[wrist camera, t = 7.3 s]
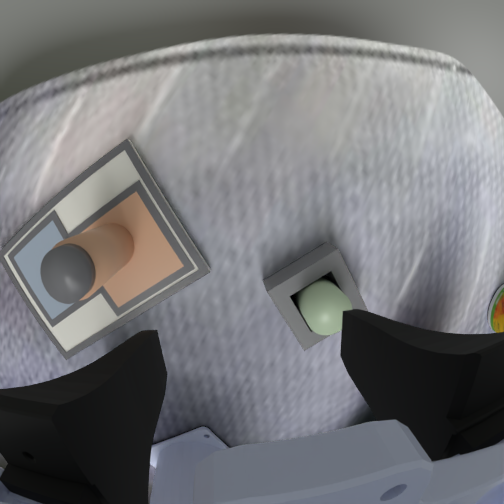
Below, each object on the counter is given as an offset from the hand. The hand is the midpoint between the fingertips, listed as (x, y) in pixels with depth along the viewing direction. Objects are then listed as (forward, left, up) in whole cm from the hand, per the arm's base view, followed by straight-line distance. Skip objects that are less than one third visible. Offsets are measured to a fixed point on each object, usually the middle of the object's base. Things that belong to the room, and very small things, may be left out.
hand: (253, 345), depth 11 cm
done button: (-4, -4, -9) cm, 11 cm away
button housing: (-4, -4, -9) cm, 11 cm away
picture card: (+6, +8, -9) cm, 14 cm away
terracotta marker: (+6, +6, -9) cm, 12 cm away
